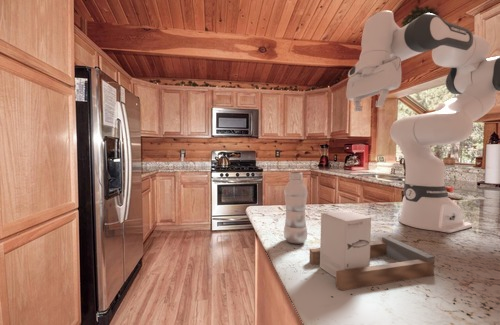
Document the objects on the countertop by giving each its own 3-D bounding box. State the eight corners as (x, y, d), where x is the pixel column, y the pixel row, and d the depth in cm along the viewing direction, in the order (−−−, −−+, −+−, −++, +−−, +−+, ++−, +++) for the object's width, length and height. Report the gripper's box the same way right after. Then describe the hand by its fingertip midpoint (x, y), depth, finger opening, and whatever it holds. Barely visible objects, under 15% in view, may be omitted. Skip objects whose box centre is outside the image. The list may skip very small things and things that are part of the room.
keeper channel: (388, 251, 62) (388, 236, 62) (434, 275, 51) (434, 256, 50) (309, 261, 57) (309, 245, 56) (340, 290, 45) (341, 269, 45)
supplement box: (343, 284, 47) (345, 220, 46) (318, 267, 54) (319, 211, 53) (370, 276, 50) (372, 216, 49) (343, 261, 57) (345, 208, 56)
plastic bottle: (302, 248, 64) (303, 174, 63) (279, 243, 68) (280, 172, 67) (310, 240, 70) (311, 172, 69) (288, 236, 73) (289, 171, 72)
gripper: (410, 55, 67) (404, 105, 67) (360, 76, 87) (355, 114, 87) (392, 50, 65) (385, 101, 66) (345, 73, 85) (340, 112, 86)
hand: (368, 109), depth 77 cm, fingers open, 8 cm apart
